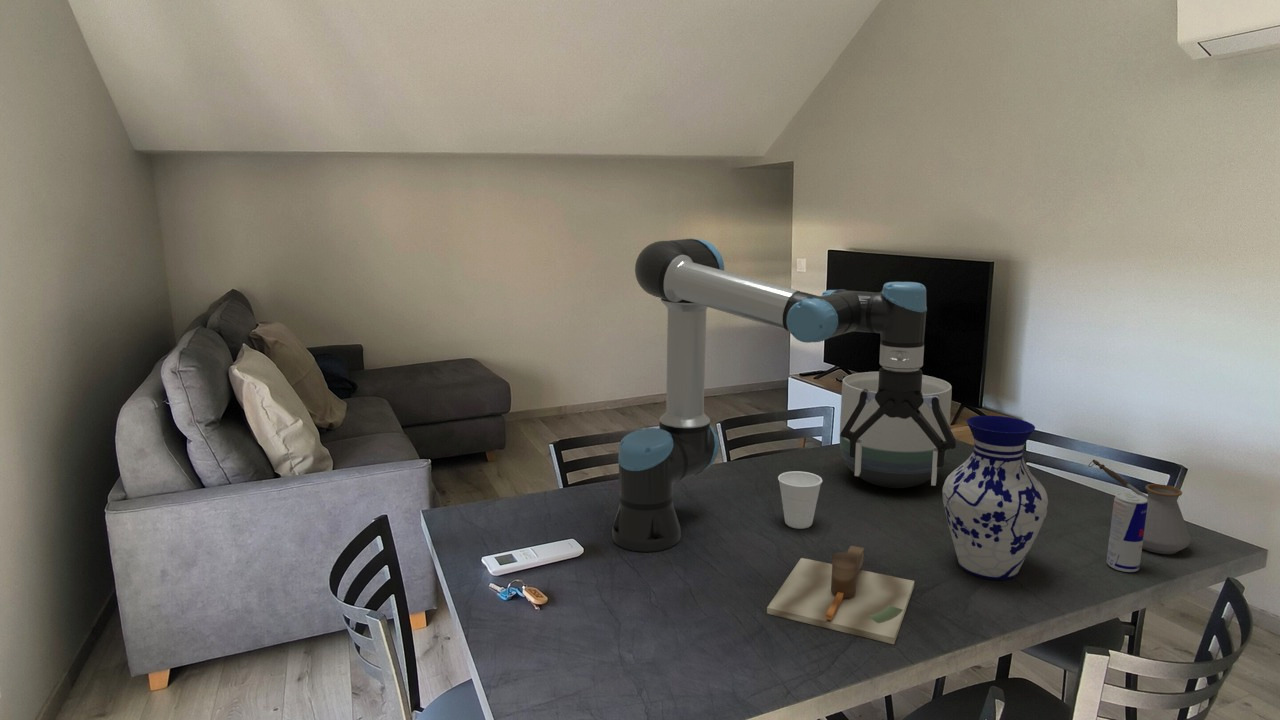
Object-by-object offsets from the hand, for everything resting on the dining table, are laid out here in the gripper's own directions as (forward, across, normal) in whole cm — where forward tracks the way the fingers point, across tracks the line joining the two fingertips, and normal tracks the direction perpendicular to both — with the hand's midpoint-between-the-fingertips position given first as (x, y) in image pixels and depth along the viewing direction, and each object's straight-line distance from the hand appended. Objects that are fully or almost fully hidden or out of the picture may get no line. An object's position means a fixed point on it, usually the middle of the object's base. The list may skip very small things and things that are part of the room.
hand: (894, 478), depth 143 cm
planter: (+21, -6, +57) cm, 62 cm away
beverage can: (+22, +42, +26) cm, 54 cm away
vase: (+22, +17, +15) cm, 32 cm away
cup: (+21, -22, +21) cm, 38 cm away
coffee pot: (+22, +46, +42) cm, 66 cm away
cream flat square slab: (+21, -7, -10) cm, 24 cm away
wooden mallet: (+20, -7, -9) cm, 23 cm away
